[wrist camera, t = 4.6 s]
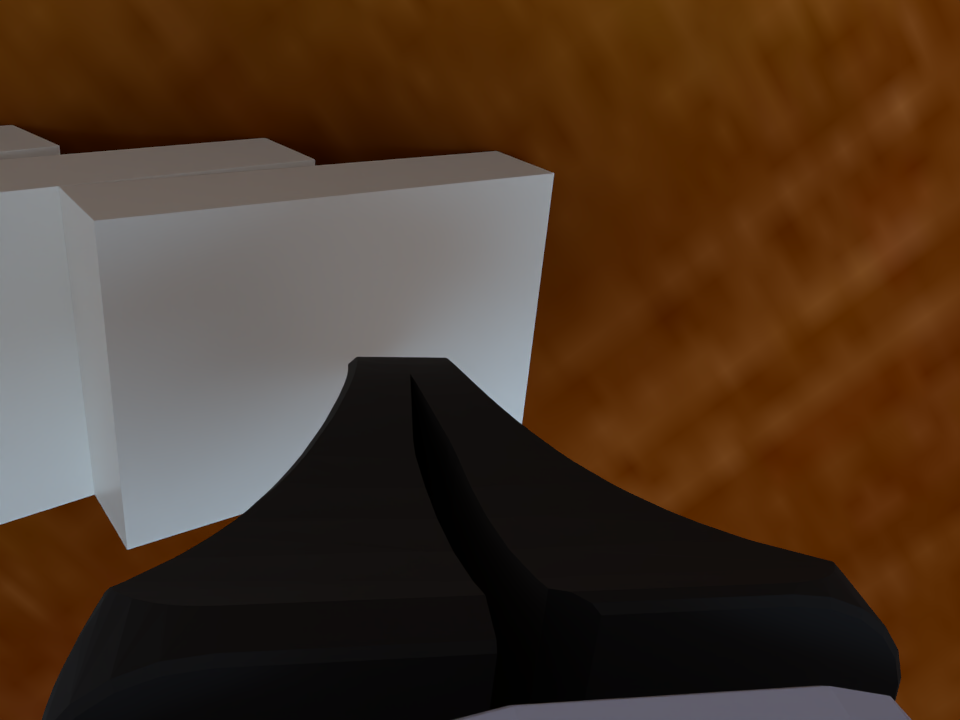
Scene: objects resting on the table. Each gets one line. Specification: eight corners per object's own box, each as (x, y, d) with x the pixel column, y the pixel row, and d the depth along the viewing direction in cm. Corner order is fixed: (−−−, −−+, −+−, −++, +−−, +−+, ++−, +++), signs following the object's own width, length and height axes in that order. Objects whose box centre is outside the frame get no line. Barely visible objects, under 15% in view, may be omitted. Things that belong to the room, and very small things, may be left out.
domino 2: (472, 391, 18) (94, 494, 14) (496, 150, 16) (58, 185, 12) (521, 426, 17) (126, 549, 13) (554, 173, 15) (93, 220, 11)
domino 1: (269, 390, 18) (-191, 519, 13) (265, 137, 16) (-288, 183, 11) (312, 424, 17) (-170, 578, 12) (315, 159, 14) (-273, 220, 10)
